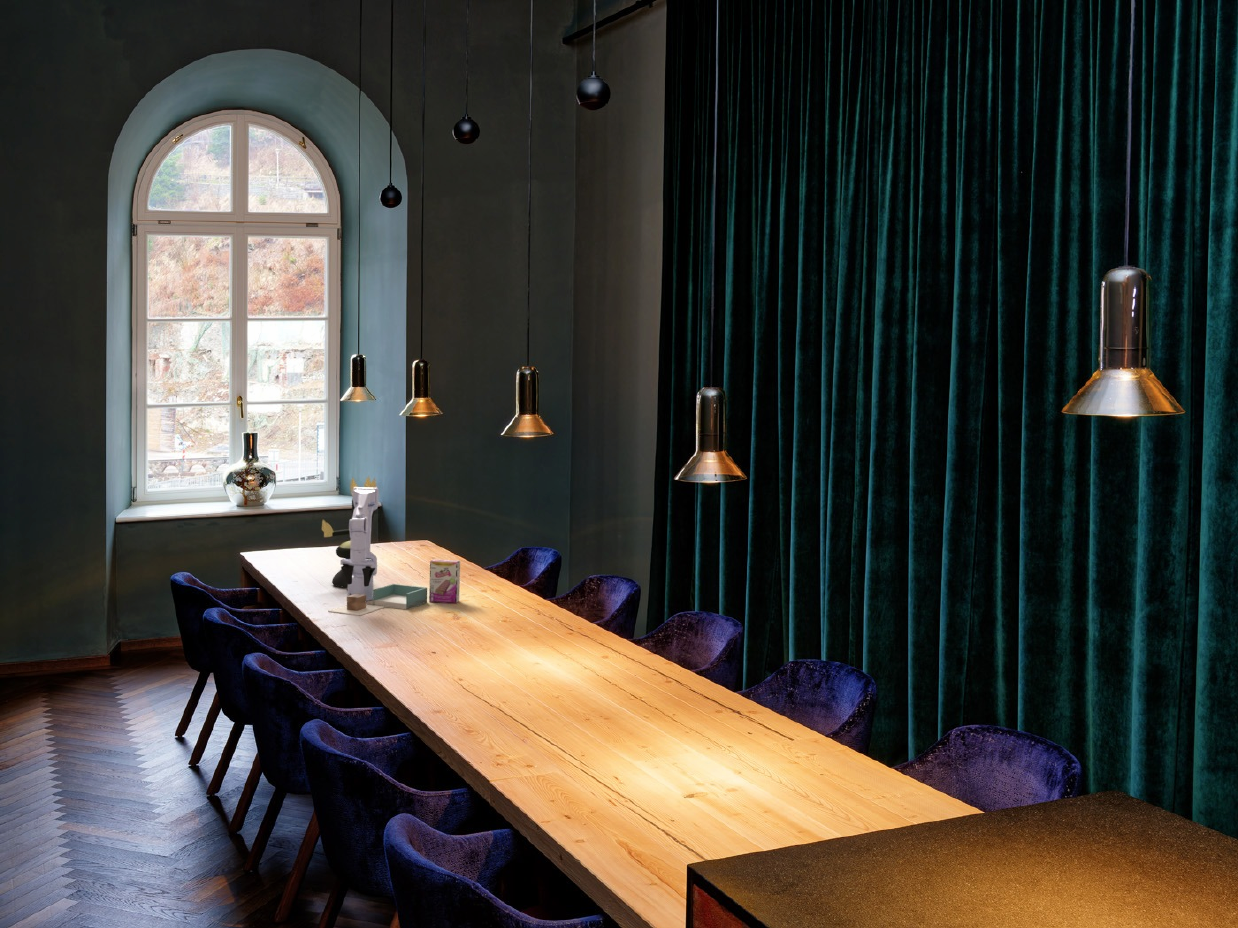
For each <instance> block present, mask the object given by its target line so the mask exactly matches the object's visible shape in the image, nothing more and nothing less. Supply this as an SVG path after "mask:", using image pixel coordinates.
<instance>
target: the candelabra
mask: <svg viewBox="0 0 1238 928" xmlns="http://www.w3.org/2000/svg"><path fill="white" fill-rule="evenodd" d="M354 487H359V486H358V484H357V483H356V481H355V479H354V478H353V477H351V481H350V494H351V496H352V493H353V488H354ZM363 487H372V488H376V487H377V488H378V486H377V483H376V478H375V477H374V478H373V480H372V481H371V479H370V476H369V475H368V476H367V478H366V480H365V483H364V484H363ZM354 509H355V507H354V504H353V499H351V517H352V516H353V511H354ZM375 512H376V509H375V510H373V513H372V521H371V528H372V527H373V522H374V518H375ZM321 531H322V532H323V538H330V537H339V536H345V535H350V531H349V528H348V529H340V530H339V529H338V530H334V529H333V528H332V526H331V525H330V524H329V523H328V522H326V520H325V519H322V521H321ZM372 537H373V532H372V531H371V538H372ZM350 550H351V540H348V541H344V542H342V543H341V544H340V545H339V546H337V547H336V549H335V554H336V556H337V557H338V558H340V559H350ZM352 576H354V575H352ZM331 584H333V586H335V587H337V588H341V589H342V588H343V589H348V584H347V581H346V578H345V575H344V572H343V571H342V569H341V568H340V569H339V570H338V571H337V573H335V575H334V576H333V578H332V580H331Z"/></svg>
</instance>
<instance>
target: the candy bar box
mask: <svg viewBox="0 0 1238 928" xmlns="http://www.w3.org/2000/svg"><path fill="white" fill-rule="evenodd" d="M460 577H461V560H455V559H453V560H452V559H439V558H438V559H436V558H434V559H433V558H432V559H431V560H430V561H429V590H428V591H429V594H428V599H429V600H428V601H429V603H441V604H443V603H444V604H457V603H458V602H460V586H461V585H460V583H461V578H460Z"/></svg>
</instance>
